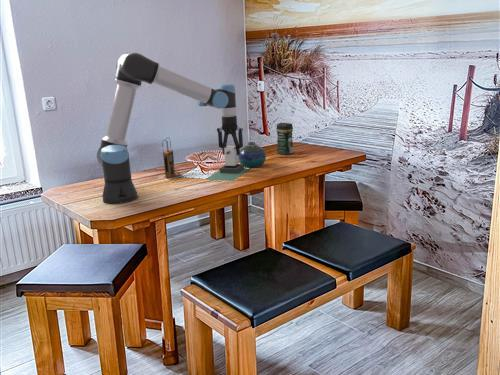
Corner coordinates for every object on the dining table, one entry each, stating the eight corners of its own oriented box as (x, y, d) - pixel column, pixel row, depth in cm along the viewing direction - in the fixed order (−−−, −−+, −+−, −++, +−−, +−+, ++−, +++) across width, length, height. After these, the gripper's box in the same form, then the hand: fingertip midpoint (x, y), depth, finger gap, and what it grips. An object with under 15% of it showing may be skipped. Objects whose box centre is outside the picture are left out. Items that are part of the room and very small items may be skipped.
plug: (232, 167, 242) (231, 149, 240) (223, 166, 244) (222, 149, 241) (239, 162, 251) (238, 145, 248) (230, 162, 252) (229, 145, 250)
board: (233, 183, 231) (233, 175, 230) (205, 182, 236) (204, 174, 234) (249, 171, 252) (249, 163, 251) (223, 170, 257) (222, 163, 256)
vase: (270, 164, 266) (270, 140, 262) (259, 171, 252) (258, 146, 248) (245, 162, 272) (244, 139, 268) (233, 169, 259) (232, 144, 255)
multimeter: (181, 179, 242) (177, 140, 237) (162, 179, 244) (158, 140, 239) (190, 172, 256) (187, 135, 251) (172, 172, 258) (169, 135, 253)
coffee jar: (274, 153, 291) (273, 123, 286) (283, 151, 297) (282, 121, 292) (286, 155, 285) (286, 124, 280) (295, 153, 290) (294, 122, 285)
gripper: (248, 114, 242) (250, 159, 248) (215, 114, 247) (218, 158, 254) (243, 116, 235) (245, 163, 241) (209, 116, 241) (212, 162, 247)
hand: (231, 160), depth 247 cm, fingers closed on plug, 5 cm apart
